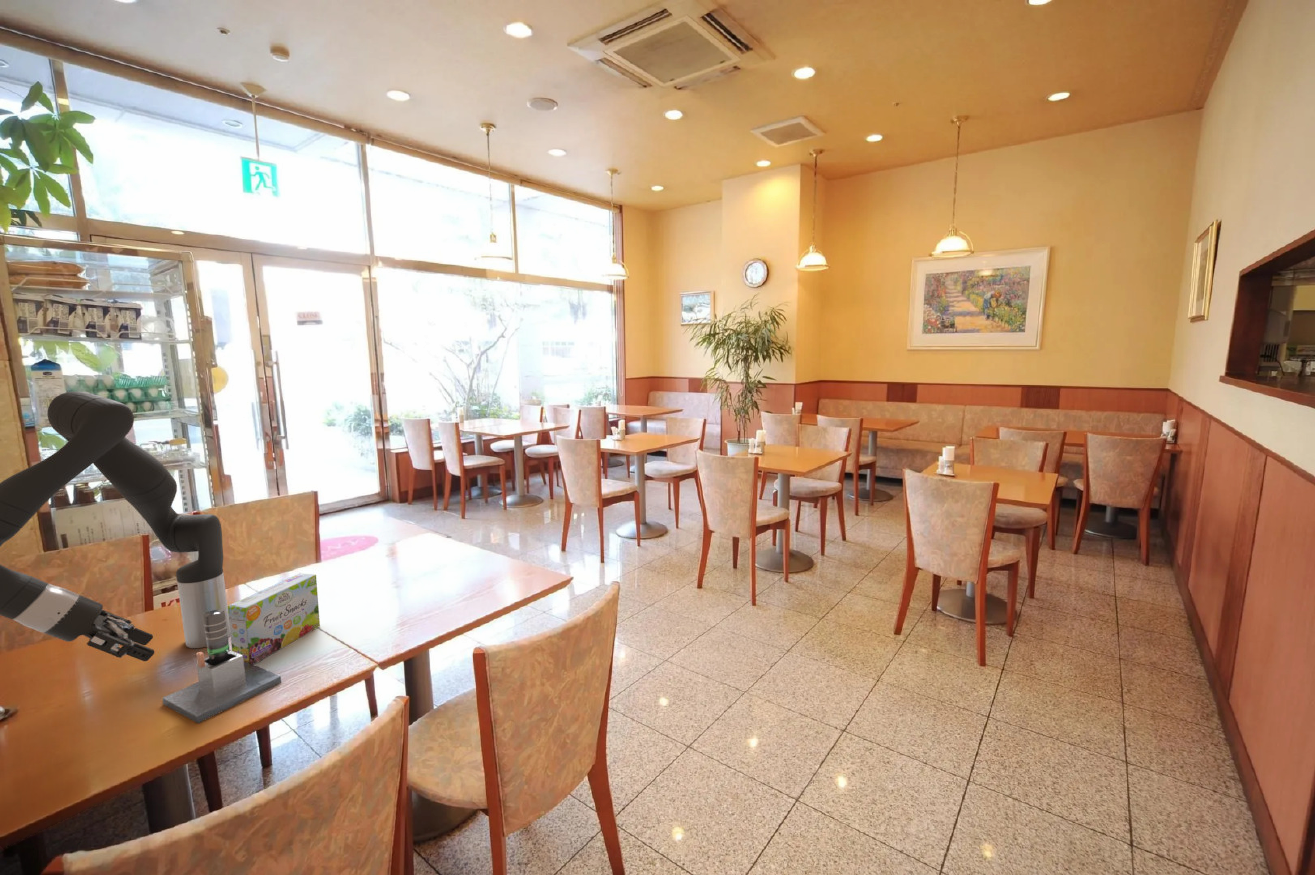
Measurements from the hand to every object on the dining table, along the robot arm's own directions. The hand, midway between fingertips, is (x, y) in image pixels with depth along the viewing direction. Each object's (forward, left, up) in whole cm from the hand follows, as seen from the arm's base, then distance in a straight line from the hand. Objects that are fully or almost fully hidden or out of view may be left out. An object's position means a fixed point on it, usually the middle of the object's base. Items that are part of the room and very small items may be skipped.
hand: (150, 648), depth 114 cm
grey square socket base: (+4, +10, -14) cm, 18 cm away
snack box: (-7, +28, -15) cm, 32 cm away
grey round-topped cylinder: (+4, +10, -9) cm, 14 cm away
